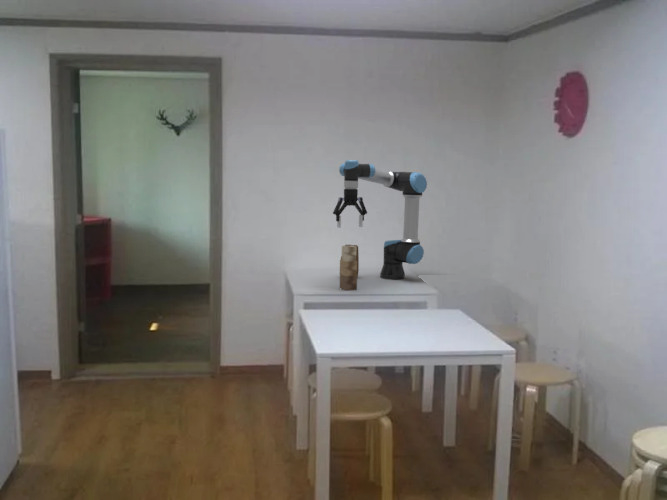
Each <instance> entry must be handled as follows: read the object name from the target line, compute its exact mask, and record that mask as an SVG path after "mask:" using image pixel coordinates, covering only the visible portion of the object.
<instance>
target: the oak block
mask: <svg viewBox="0 0 667 500" xmlns="http://www.w3.org/2000/svg"><path fill="white" fill-rule="evenodd" d="M340 274H341V275H343V276H357V261H349V262H346V261H343V260H341V259H340V260H339V275H340Z"/></svg>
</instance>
